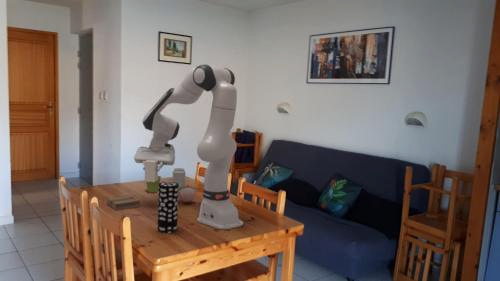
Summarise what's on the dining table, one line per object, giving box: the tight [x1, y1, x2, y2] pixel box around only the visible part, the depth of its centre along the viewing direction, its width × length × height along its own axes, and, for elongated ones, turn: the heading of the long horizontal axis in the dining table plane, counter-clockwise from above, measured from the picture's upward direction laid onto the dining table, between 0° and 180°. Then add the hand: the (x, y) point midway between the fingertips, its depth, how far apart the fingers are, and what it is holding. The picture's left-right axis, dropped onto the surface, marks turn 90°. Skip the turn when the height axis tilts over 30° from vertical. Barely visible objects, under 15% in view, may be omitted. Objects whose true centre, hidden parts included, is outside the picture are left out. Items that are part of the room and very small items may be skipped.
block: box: [144, 160, 159, 183], centre depth 200 cm, size 5×5×10 cm
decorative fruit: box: [178, 184, 197, 204], centre depth 213 cm, size 9×8×10 cm
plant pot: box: [145, 175, 162, 194], centre depth 233 cm, size 9×9×9 cm
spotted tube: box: [156, 181, 179, 234], centre depth 172 cm, size 8×8×20 cm
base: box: [106, 195, 141, 211], centre depth 203 cm, size 12×12×3 cm
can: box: [171, 167, 186, 190], centre depth 243 cm, size 8×8×12 cm
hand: (151, 170), depth 199 cm, fingers closed on block, 5 cm apart
